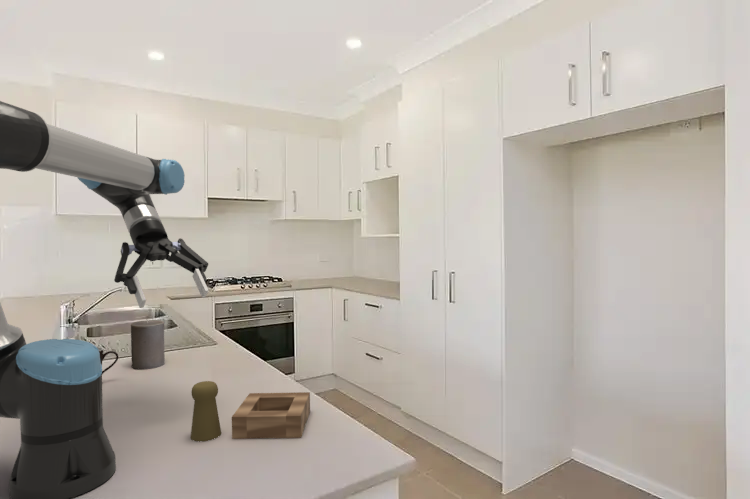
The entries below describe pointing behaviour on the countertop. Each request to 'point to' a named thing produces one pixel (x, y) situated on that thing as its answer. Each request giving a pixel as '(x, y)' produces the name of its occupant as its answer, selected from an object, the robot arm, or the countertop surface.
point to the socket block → (271, 415)
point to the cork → (205, 412)
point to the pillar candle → (147, 344)
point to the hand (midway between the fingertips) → (175, 299)
